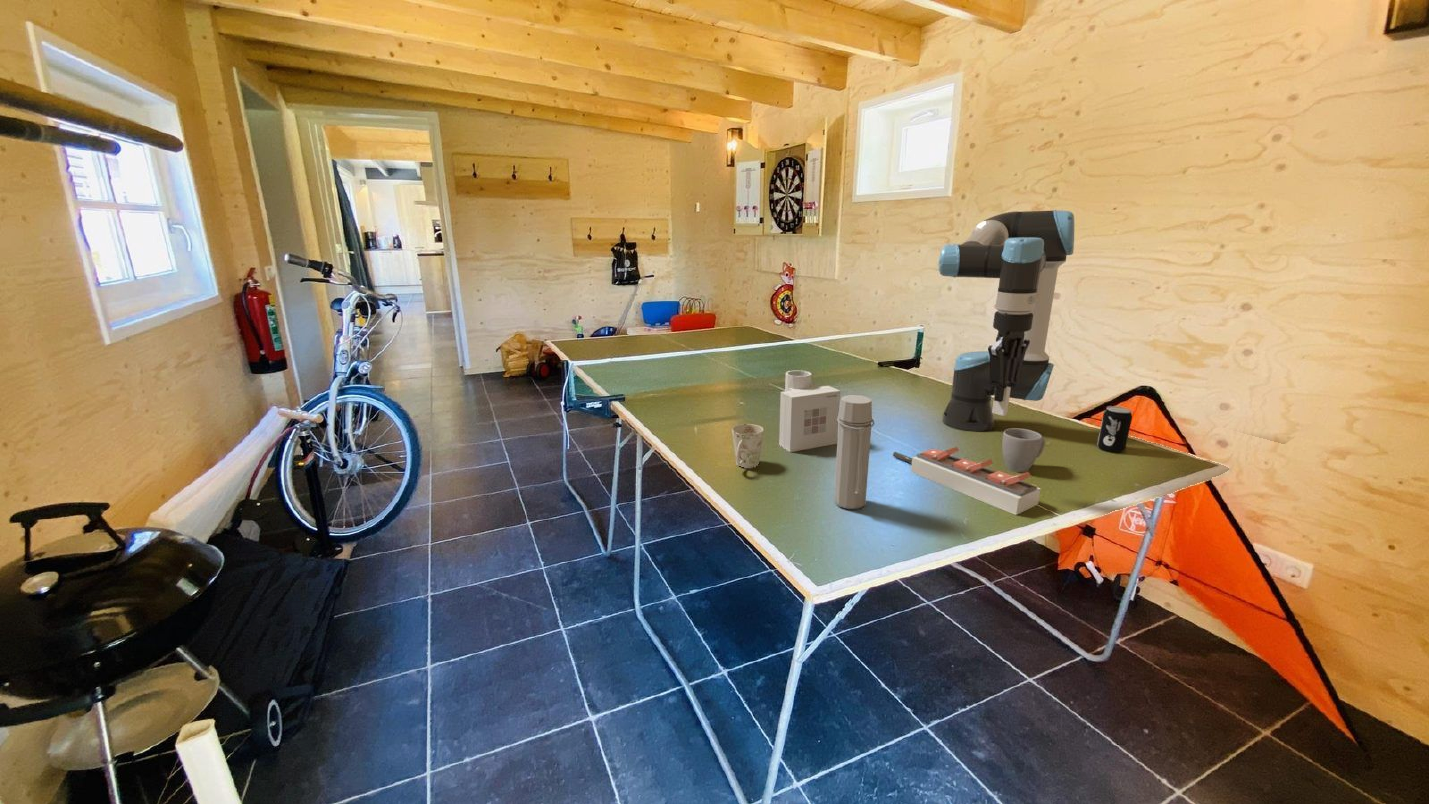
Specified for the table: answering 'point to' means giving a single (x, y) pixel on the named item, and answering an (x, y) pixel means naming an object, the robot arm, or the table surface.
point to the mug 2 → (1021, 448)
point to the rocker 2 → (1006, 478)
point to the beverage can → (1114, 429)
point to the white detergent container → (807, 413)
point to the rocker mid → (971, 465)
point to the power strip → (975, 483)
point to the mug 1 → (747, 444)
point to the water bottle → (853, 451)
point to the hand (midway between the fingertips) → (999, 413)
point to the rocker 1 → (939, 453)
